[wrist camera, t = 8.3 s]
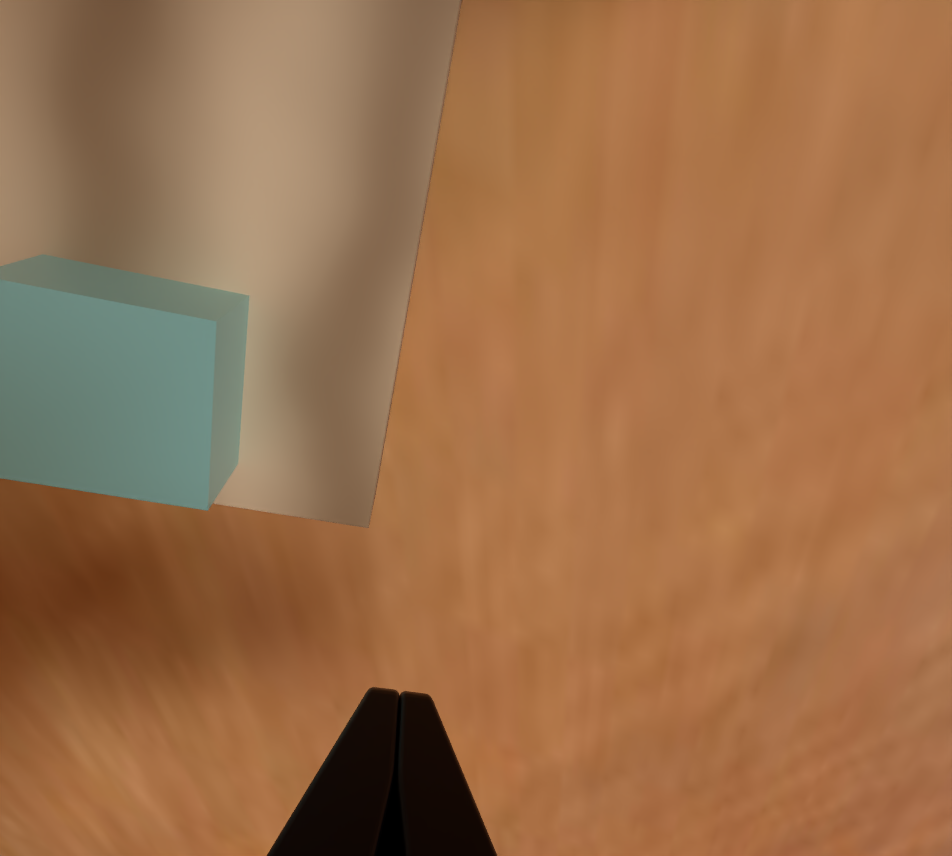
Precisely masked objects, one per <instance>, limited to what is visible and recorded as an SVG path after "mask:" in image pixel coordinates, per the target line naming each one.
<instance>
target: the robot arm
mask: <svg viewBox="0 0 952 856" xmlns="http://www.w3.org/2000/svg"><path fill="white" fill-rule="evenodd" d="M267 856H497V854H496V851H495V849H494V847H493V844H492V842H491V839H490V837H489V835H488V832H487V830H486V827H485V825H484V822H483V820H482V818H481V815H480V813H479V810H478V808H477V806H476V803H475V801H474V798H473V796H472V794H471V791H470V789H469V786H468V784H467V781H466V779H465V777H464V774H463V772H462V769H461V767H460V765H459V762H458V760H457V757H456V755H455V752H454V750H453V748H452V745H451V743H450V740H449V738H448V736H447V733H446V731H445V728H444V726H443V724H442V721H441V719H440V716H439V714H438V711H437V709H436V707H435V704H434V702H433V700H432V698H431V697H430V696H429V695H428V694H424V693H416V692H408V691H404V692H402V693H401V694H400V696H399V693H398V692H397V691H396V690H393V689H385V688H377V687H372V688H370V689H369V690H368V691H367V692H366V694H365V695H364V697H363V699H362V700H361V702H360V704H359V705H358V707H357V709H356V710H355V712H354V713H353V715H352V717H351V718H350V720H349V722H348V723H347V725H346V727H345V728H344V730H343V731H342V733H341V735H340V736H339V738H338V740H337V741H336V743H335V745H334V746H333V748H332V750H331V751H330V753H329V754H328V756H327V758H326V759H325V761H324V763H323V764H322V766H321V768H320V769H319V771H318V772H317V774H316V776H315V777H314V779H313V781H312V782H311V784H310V786H309V787H308V789H307V790H306V792H305V794H304V795H303V797H302V799H301V800H300V802H299V804H298V805H297V807H296V809H295V810H294V812H293V813H292V815H291V817H290V818H289V820H288V822H287V823H286V825H285V827H284V828H283V830H282V831H281V833H280V835H279V836H278V838H277V840H276V841H275V843H274V845H273V846H272V848H271V849H270V851H269V853H268V854H267Z"/></svg>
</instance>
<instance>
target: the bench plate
mask: <svg viewBox="0 0 952 856" xmlns="http://www.w3.org/2000/svg"><path fill="white" fill-rule="evenodd" d="M461 2H462V0H0V266H3V265H6V264H10V263H13V262H17V261H20V260H24V259H27V258H31V257H35V256H38V255H42V254H44V255H49V256H54V257H59V258H64V259H69V260H74V261H79V262H84V263H89V264H94V265H99V266H104V267H109V268H114V269H119V270H124V271H129V272H134V273H139V274H144V275H149V276H154V277H159V278H164V279H169V280H174V281H179V282H184V283H189V284H194V285H199V286H205V287H210V288H215V289H220V290H225V291H230V292H235V293H240V294H245V295H250V296H249V311H248V326H247V340H246V355H245V370H244V385H243V400H242V415H241V430H240V445H239V459H238V465H237V466H236V468H235V469H234V471H233V473H232V474H231V476H230V477H229V479H228V480H227V482H226V483H225V485H224V486H223V488H222V490H221V491H220V493H219V494H218V496H217V497H216V499H215V500H214V502H213V503H212V504H219V505H225V506H232V507H238V508H244V509H251V510H257V511H263V512H270V513H276V514H282V515H289V516H295V517H301V518H308V519H314V520H320V521H327V522H333V523H339V524H346V525H352V526H358V527H365V528H369V523H370V518H371V514H372V509H373V504H374V499H375V494H376V488H377V483H378V477H379V471H380V466H381V460H382V454H383V448H384V443H385V437H386V431H387V426H388V420H389V414H390V408H391V403H392V397H393V391H394V386H395V380H396V374H397V368H398V363H399V357H400V351H401V346H402V340H403V334H404V328H405V323H406V317H407V311H408V305H409V300H410V294H411V288H412V283H413V277H414V271H415V265H416V260H417V254H418V248H419V243H420V237H421V231H422V225H423V220H424V214H425V208H426V203H427V197H428V191H429V185H430V180H431V174H432V168H433V163H434V157H435V151H436V145H437V140H438V134H439V128H440V123H441V117H442V111H443V105H444V100H445V94H446V88H447V82H448V77H449V71H450V65H451V60H452V54H453V48H454V42H455V37H456V31H457V25H458V20H459V14H460V8H461Z"/></svg>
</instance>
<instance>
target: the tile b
mask: <svg viewBox="0 0 952 856" xmlns="http://www.w3.org/2000/svg"><path fill="white" fill-rule="evenodd" d="M249 296H250V295H245V294H240V293H235V292H230V291H225V290H220V289H215V288H210V287H205V286H199V285H194V284H189V283H184V282H179V281H174V280H169V279H164V278H159V277H154V276H149V275H144V274H139V273H134V272H129V271H124V270H119V269H114V268H109V267H104V266H99V265H94V264H89V263H84V262H79V261H74V260H69V259H64V258H59V257H54V256H49V255H44V254H42V255H38V256H35V257H31V258H27V259H24V260H20V261H17V262H13V263H10V264H6V265H3V266H0V478H2V479H9V480H15V481H21V482H28V483H34V484H41V485H47V486H53V487H60V488H66V489H73V490H79V491H85V492H92V493H98V494H105V495H111V496H117V497H124V498H130V499H137V500H143V501H150V502H156V503H162V504H169V505H175V506H182V507H188V508H194V509H201V510H207V511H208V510H209V508H210V506H211V505H212V503H213V502H214V500H215V499H216V497H217V496H218V494H219V493H220V491H221V490H222V488H223V486H224V485H225V483H226V482H227V480H228V479H229V477H230V476H231V474H232V473H233V471H234V469H235V468H236V466H237V465H238V459H239V445H240V430H241V415H242V400H243V385H244V370H245V355H246V340H247V326H248V311H249Z"/></svg>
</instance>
